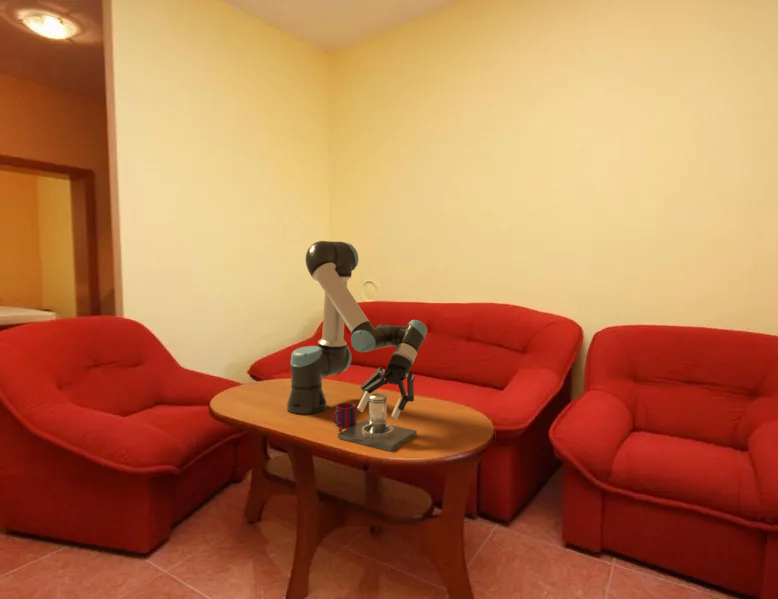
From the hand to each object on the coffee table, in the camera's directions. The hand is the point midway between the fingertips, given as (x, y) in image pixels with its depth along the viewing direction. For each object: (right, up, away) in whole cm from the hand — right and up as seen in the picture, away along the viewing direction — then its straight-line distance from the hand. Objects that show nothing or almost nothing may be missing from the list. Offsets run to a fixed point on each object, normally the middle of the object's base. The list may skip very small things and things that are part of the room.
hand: (376, 414), depth 150 cm
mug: (-12, -7, +12) cm, 18 cm away
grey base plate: (0, -8, +2) cm, 8 cm away
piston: (0, -6, +2) cm, 6 cm away
